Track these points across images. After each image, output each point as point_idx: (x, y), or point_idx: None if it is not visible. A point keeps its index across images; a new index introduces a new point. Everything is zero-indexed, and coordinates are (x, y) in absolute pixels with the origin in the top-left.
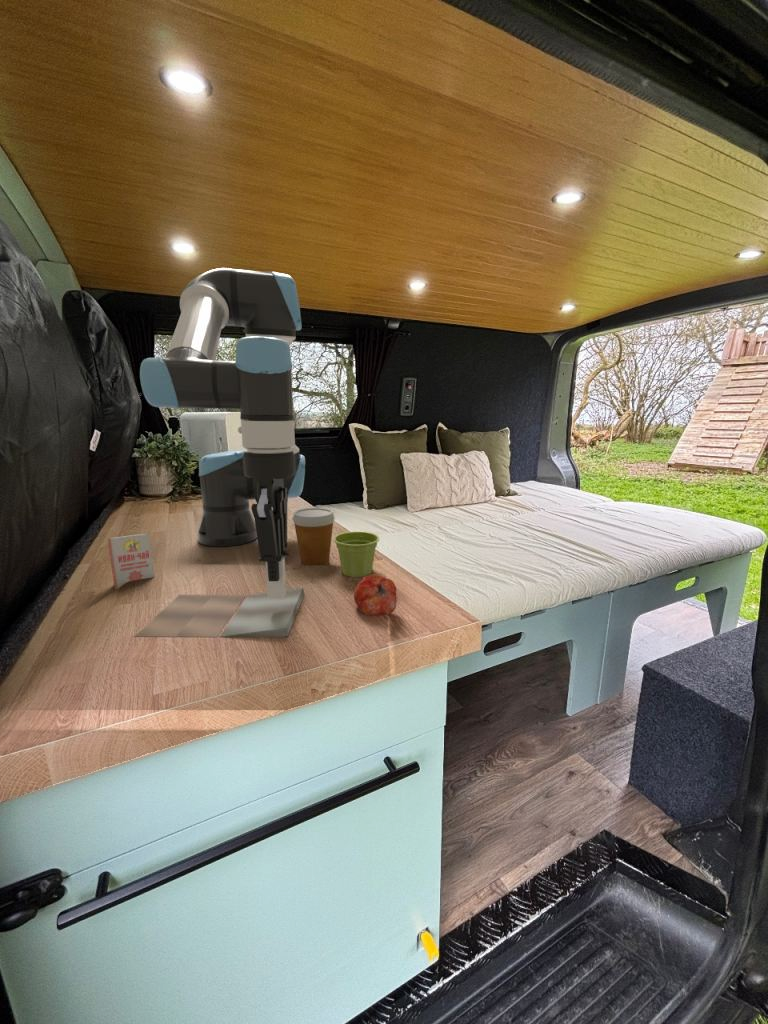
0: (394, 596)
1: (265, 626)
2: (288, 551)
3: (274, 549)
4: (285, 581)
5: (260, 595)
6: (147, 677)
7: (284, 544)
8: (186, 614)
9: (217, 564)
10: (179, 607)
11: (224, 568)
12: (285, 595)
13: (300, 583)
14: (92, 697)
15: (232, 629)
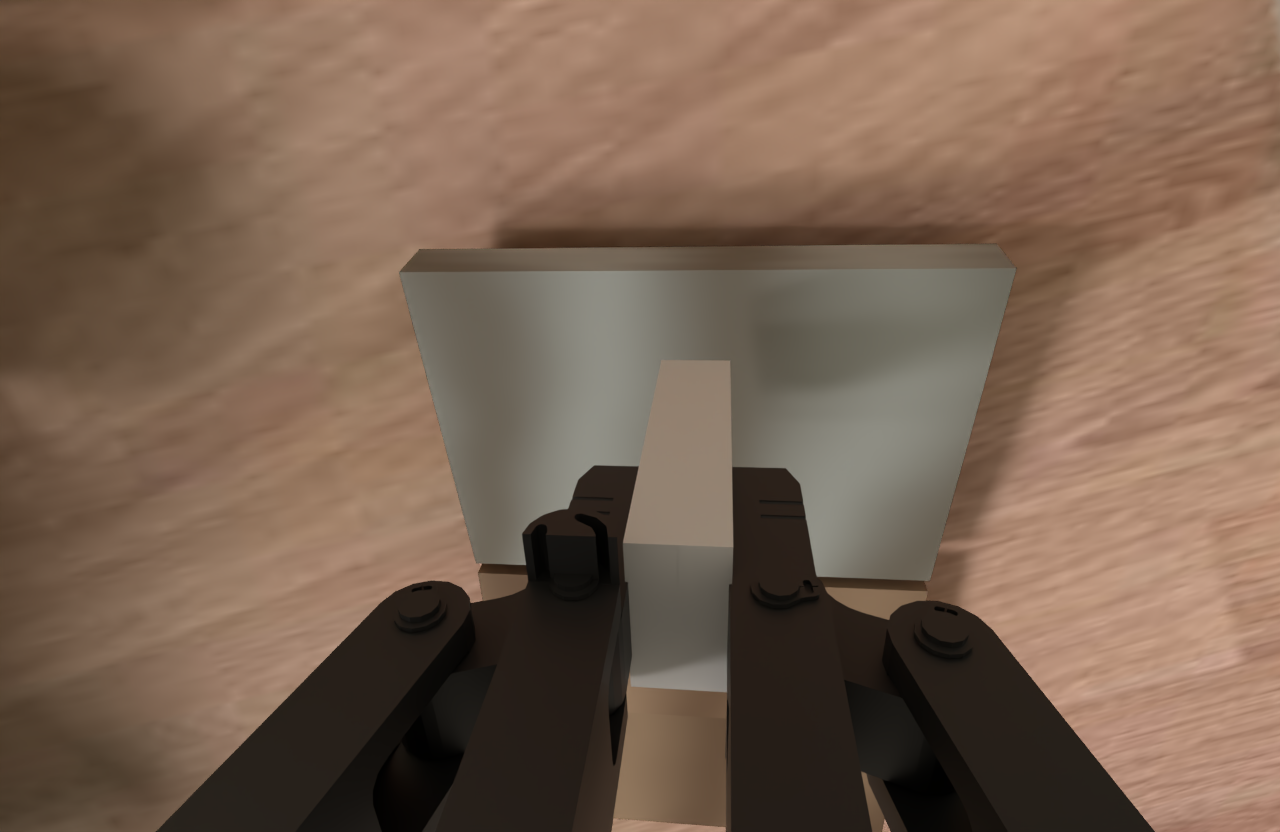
0: None
1: (926, 397)
2: (554, 542)
3: (1104, 782)
4: (662, 408)
5: (491, 507)
6: (1112, 711)
7: (515, 645)
8: (704, 745)
9: (123, 754)
10: (639, 782)
11: (153, 719)
12: (691, 362)
13: (183, 316)
14: (1189, 803)
15: (878, 546)
